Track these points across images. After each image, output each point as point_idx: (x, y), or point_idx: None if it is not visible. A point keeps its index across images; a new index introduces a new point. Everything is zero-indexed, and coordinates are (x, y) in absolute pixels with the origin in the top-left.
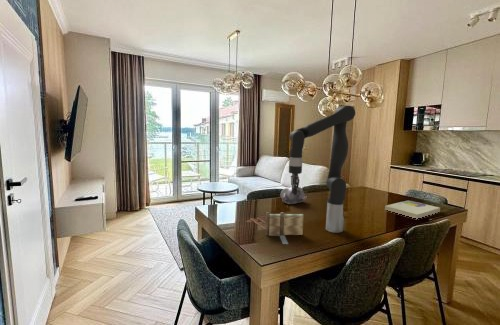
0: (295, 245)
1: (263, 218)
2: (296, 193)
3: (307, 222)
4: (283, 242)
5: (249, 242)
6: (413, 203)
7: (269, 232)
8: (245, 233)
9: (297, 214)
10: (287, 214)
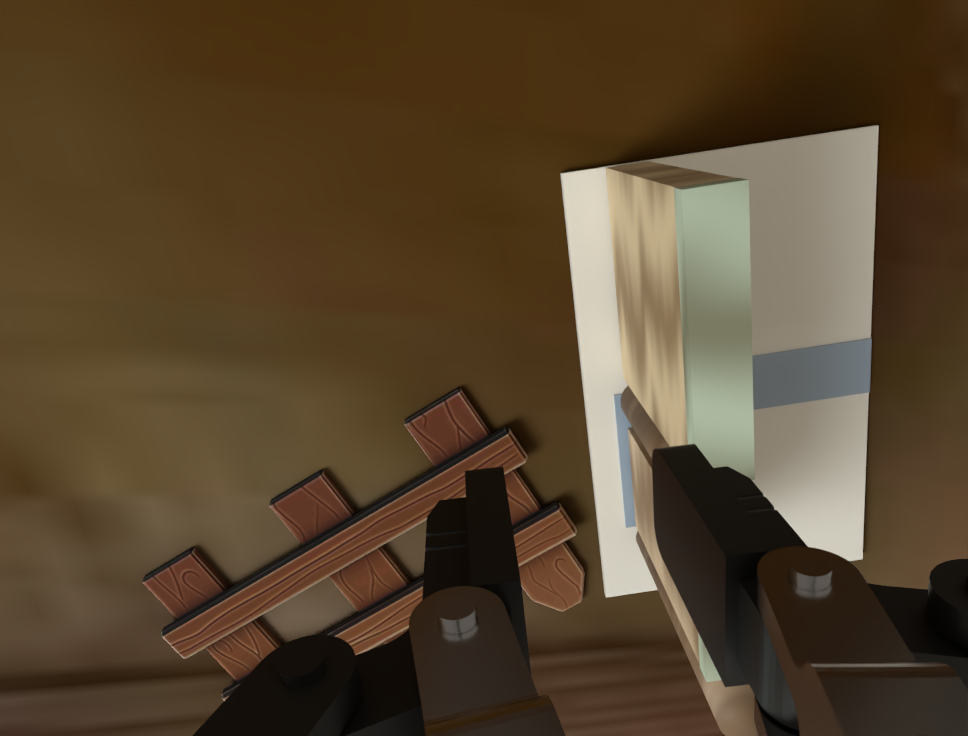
0: (881, 266)
1: (173, 592)
2: (699, 463)
3: (126, 9)
4: (837, 385)
5: None
6: None
7: None
8: (616, 707)
9: (704, 283)
10: (715, 445)
